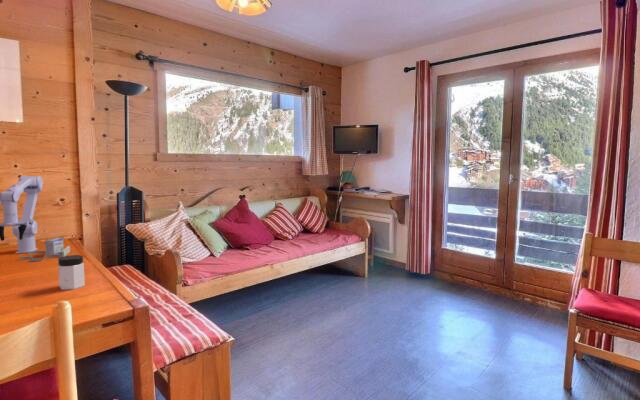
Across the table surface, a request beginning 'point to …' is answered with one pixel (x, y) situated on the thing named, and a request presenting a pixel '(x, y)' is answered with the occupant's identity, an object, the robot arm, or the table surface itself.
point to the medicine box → (54, 246)
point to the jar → (71, 272)
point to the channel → (47, 255)
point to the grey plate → (35, 259)
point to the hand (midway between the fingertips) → (11, 239)
